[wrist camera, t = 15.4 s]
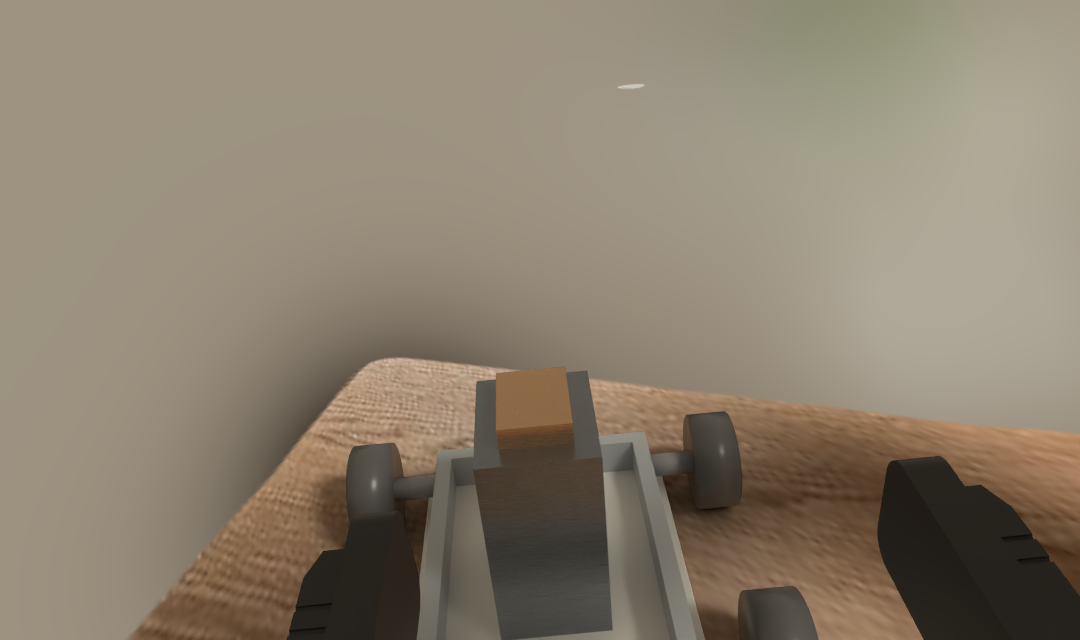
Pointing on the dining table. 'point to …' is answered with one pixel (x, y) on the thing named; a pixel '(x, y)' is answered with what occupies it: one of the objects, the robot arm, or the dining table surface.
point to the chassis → (632, 535)
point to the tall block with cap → (542, 503)
